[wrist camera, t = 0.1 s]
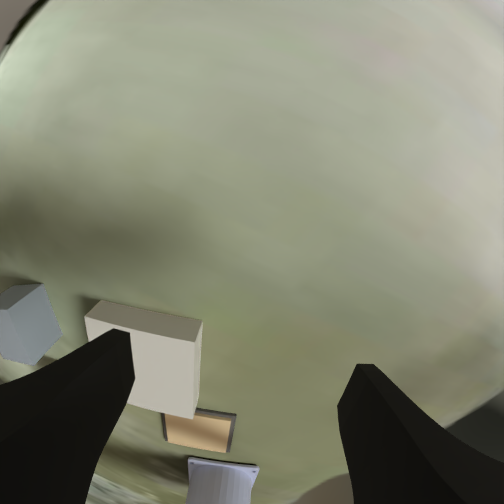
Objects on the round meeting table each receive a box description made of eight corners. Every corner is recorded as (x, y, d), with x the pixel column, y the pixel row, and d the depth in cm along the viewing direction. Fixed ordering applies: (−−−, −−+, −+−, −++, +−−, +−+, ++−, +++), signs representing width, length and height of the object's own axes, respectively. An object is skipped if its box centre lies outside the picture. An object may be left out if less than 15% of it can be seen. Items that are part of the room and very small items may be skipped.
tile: (229, 450, 25) (229, 454, 24) (166, 438, 24) (164, 443, 24) (236, 413, 22) (236, 419, 22) (161, 400, 22) (159, 405, 22)
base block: (199, 394, 22) (192, 419, 19) (114, 373, 22) (101, 394, 19) (203, 317, 20) (194, 342, 17) (103, 297, 20) (84, 316, 17)
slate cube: (63, 333, 21) (33, 365, 16) (31, 331, 21) (3, 358, 16) (43, 283, 19) (7, 309, 14) (13, 285, 20) (-21, 308, 15)
